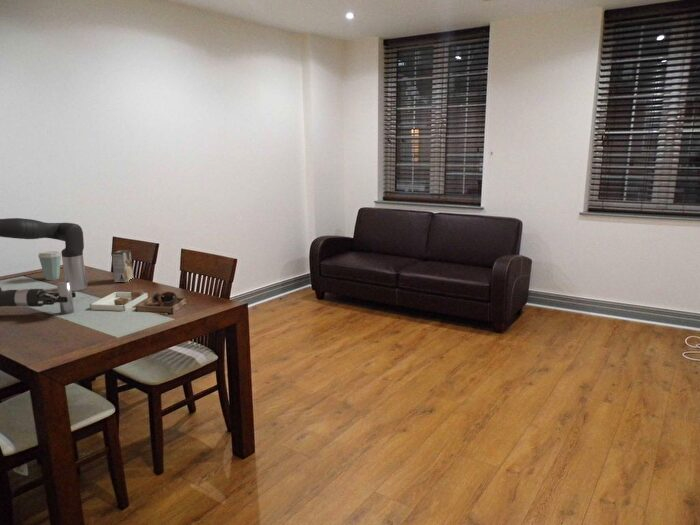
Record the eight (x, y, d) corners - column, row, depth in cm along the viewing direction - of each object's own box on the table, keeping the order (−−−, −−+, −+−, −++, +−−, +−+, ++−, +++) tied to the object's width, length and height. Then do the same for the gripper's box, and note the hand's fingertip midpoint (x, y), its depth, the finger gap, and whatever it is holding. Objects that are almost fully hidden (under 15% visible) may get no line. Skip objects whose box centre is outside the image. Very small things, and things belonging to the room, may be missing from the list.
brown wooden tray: (152, 302, 233) (152, 296, 232) (187, 303, 231) (187, 297, 230) (136, 312, 218) (135, 306, 218) (173, 314, 217) (172, 307, 216)
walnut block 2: (134, 298, 236) (133, 289, 235) (143, 298, 236) (142, 289, 236) (131, 300, 232) (130, 292, 231) (140, 300, 233) (139, 292, 232)
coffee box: (122, 278, 274) (119, 249, 271) (133, 278, 274) (131, 249, 271) (114, 283, 265) (111, 253, 262) (126, 283, 265) (123, 253, 262)
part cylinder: (66, 312, 219) (62, 280, 215) (76, 312, 218) (73, 281, 215) (58, 315, 214) (54, 283, 211) (69, 316, 213) (65, 284, 210)
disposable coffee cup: (47, 276, 278) (43, 249, 274) (67, 276, 279) (64, 249, 275) (37, 281, 267) (33, 253, 264) (59, 281, 268) (55, 253, 265)
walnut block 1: (122, 306, 224) (121, 297, 223) (129, 307, 223) (128, 298, 222) (115, 308, 221) (114, 300, 220) (122, 309, 219) (121, 301, 218)
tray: (115, 297, 239) (115, 291, 239) (148, 299, 238) (147, 292, 237) (90, 311, 220) (89, 304, 219) (125, 312, 218) (124, 305, 218)
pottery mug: (183, 305, 231) (182, 292, 225) (172, 319, 224) (170, 307, 218) (159, 297, 232) (157, 284, 227) (147, 311, 225) (145, 298, 220)
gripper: (19, 294, 205) (62, 293, 206) (38, 284, 219) (78, 284, 220) (22, 311, 207) (64, 311, 208) (40, 301, 221) (80, 300, 222)
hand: (71, 297), depth 214 cm, fingers open, 6 cm apart
